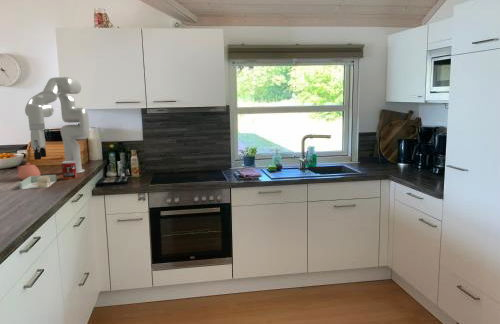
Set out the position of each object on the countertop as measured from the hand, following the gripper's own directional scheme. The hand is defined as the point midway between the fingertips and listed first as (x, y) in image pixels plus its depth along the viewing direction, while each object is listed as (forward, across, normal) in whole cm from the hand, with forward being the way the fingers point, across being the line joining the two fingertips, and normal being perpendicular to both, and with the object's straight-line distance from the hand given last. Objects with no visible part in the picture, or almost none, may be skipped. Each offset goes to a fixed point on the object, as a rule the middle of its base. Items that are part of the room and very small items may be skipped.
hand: (40, 158), depth 228 cm
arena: (+17, -6, -4) cm, 18 cm away
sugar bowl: (+17, -30, -17) cm, 38 cm away
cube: (+16, 0, 0) cm, 16 cm away
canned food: (+17, -20, +10) cm, 28 cm away
